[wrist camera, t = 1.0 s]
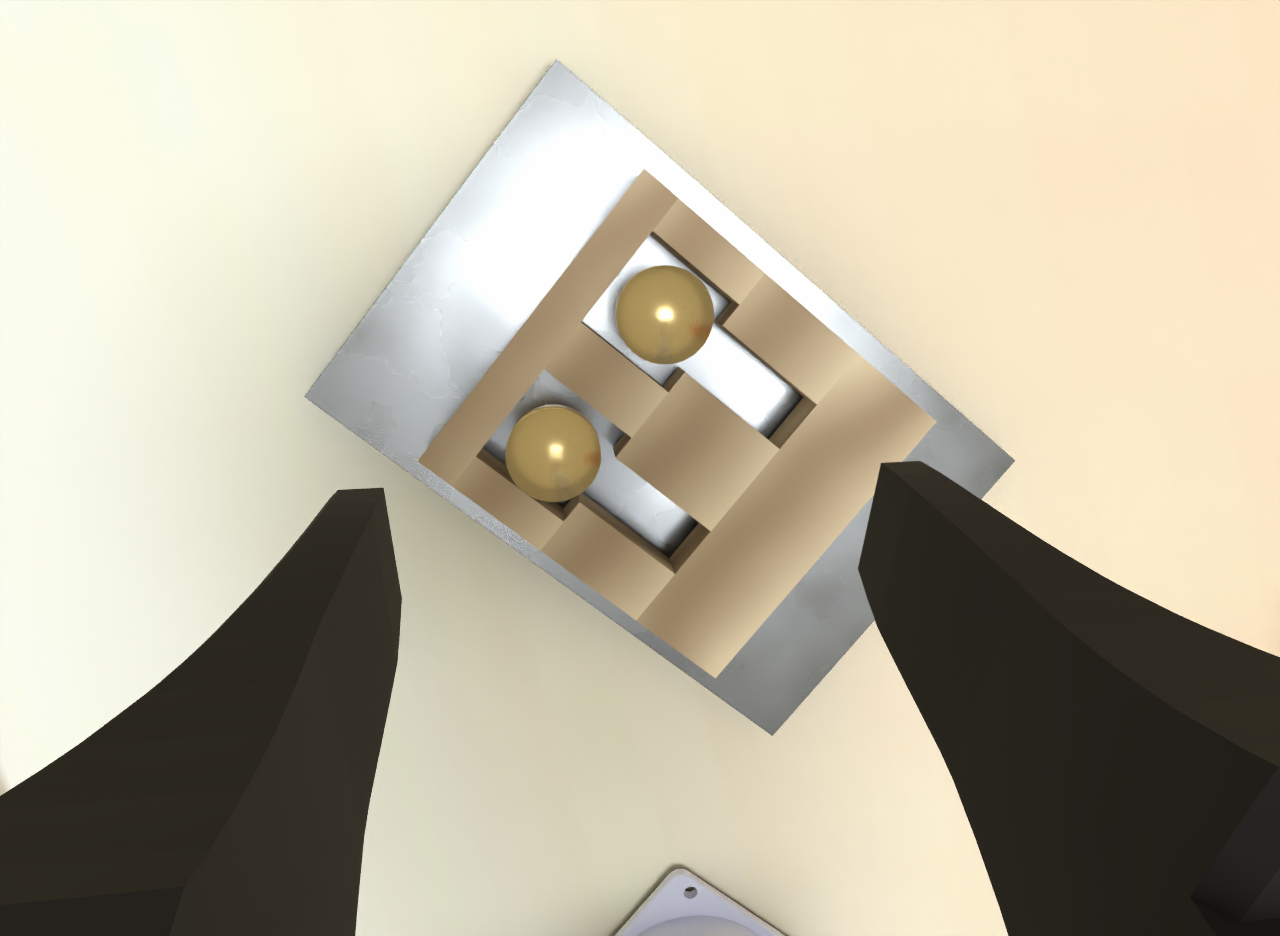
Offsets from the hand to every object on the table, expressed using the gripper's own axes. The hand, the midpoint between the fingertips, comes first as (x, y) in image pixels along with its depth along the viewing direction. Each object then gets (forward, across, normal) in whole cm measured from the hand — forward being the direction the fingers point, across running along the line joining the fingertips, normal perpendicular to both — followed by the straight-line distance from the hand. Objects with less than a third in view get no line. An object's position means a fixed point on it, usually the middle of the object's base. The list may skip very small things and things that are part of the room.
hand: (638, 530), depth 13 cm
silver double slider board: (+15, -3, +8) cm, 17 cm away
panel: (+14, -3, +7) cm, 16 cm away
